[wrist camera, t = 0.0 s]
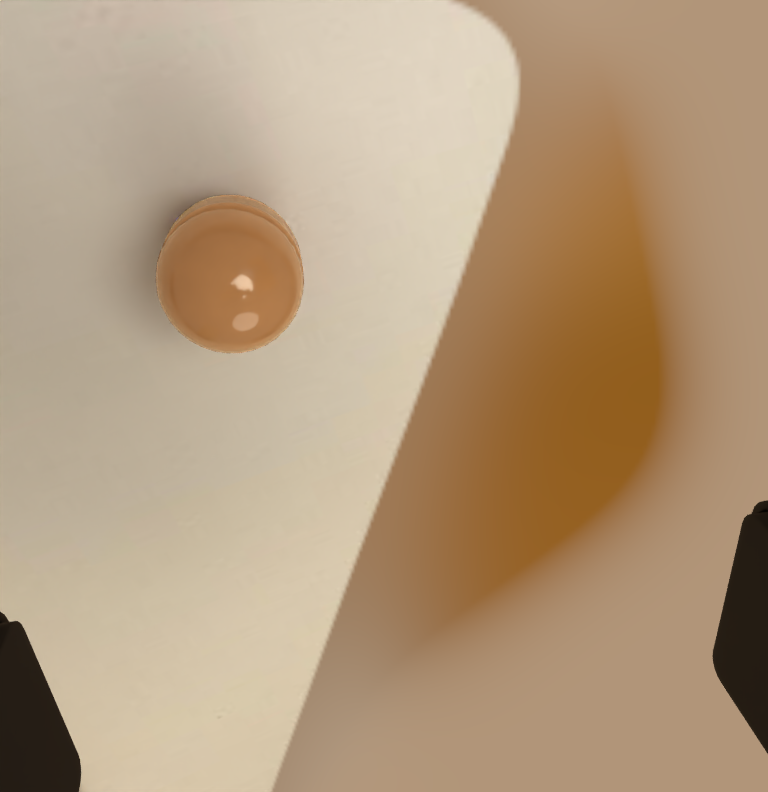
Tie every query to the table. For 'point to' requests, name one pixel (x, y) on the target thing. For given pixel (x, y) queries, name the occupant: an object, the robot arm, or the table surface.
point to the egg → (230, 274)
